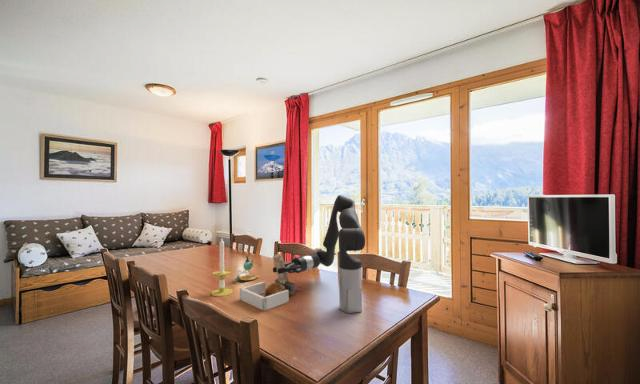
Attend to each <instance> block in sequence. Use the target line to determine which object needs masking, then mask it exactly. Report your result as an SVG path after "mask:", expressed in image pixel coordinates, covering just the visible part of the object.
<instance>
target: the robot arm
mask: <svg viewBox="0 0 640 384" xmlns="http://www.w3.org/2000/svg"><path fill="white" fill-rule="evenodd" d="M355 203H356V202H355V201H354V200H353V199H352V198H350V197H346V196H345V195H342V194H339V195H337V197H336V198H335V201H334V203H333V206H332V210H331V213H330V214H331V215H330V218H329V224H328V227H327V231H326V234H325V237H324V239H323V243H322V246H323V247H324V248H325V249H326V251H325V250H323V249H320V250H319V249H318V250H317V251H315V252H314V253H312V254H308V255H302V256H299V257H294V258H292V260H291V261H288V262H284V265H285V268H280V269H278V274H281V273H288V274H295V273H296V274H300V273H302V272H303V273H304V272H306V271H308V270H311V269H314V268H317V267H319V266H320V265H323V266H325V267H330V266H332V264H333V263H334V261H335V252H336V251H335V249H336V245H337V244H338V249H339V250H338V252H339V253H338V255H339V258H338V259H339V263H338V264H339V265H338V267H339V268H338V270H339V271H338V273H339V274H338V281H339V282H338V284H339V285H338V287H339V289H338V291H339V292H338V294H339V295H338V296H339V298H338V299H339V304H338V306H339V307H338V308H339V310H340V311H342V312H343V313H347V314H354V313H361V312H363V304H362V303H363V301H362V300H363V294H362V293H363V290H362V260H361V259H359V258H357V257H355V256H352V255H350V254H349V253H348V252H355V251H356V252H359V251H362V250H364V249H365V246H366V236H365V235H366V234H365V232H364V230H363V229H362V226H361V224H360V221H359V217H358V214H357V212H356V204H355ZM338 213H339V215H338ZM337 216H338V217H337ZM337 218H338V219H337ZM338 220H339V221H338ZM338 222H339V225H340V229H339V225H338ZM272 272H273V273H277V270H276V266H274V267H273V268H272ZM278 274H277V275H278Z"/></svg>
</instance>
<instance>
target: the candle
mask: <svg viewBox="0 0 640 384" xmlns="http://www.w3.org/2000/svg"><path fill="white" fill-rule="evenodd" d="M231 273H232V271H231V270H229V269H225V241H224V239H223V238H222V237H221V239H220V241H219V270H216V271H213V272H212V275H213V276H216V277H218V289H214V290H212V292H210V296H213V297H225V296H229V295H231V294H232V293H233V289H231V288H225V286H226V283H225V279H226V278H225V277H226V276H227V275H230V274H231Z"/></svg>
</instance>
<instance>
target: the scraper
mask: <svg viewBox="0 0 640 384" xmlns="http://www.w3.org/2000/svg"><path fill="white" fill-rule="evenodd" d="M272 259H273V263H274V267H276V270H277V272H276V274H277V278H276V279H274V283H280V284H282V285H284V286H285V288H286V290H289V293H290V294H294V293H295V292H297V289H296V283H295V282H292V281H289V277H288V274H287V273H288V272H287V273H281V274H278V269H280V268H285V265H284V263H285V261H284V258H283V255H282V254H280V253H276V254H275V255H272Z"/></svg>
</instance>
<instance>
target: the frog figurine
mask: <svg viewBox="0 0 640 384" xmlns="http://www.w3.org/2000/svg"><path fill="white" fill-rule="evenodd" d="M245 258H246V260H245V261H244V263H243V268H244V270H243V271H241V270H238V275H237V276H236V277H235V278H234V282H233V284H234V285H237V284H240V283H241V281H251V280H255V279H257V278H261V275H256V274H254V271H252V268H253V266H254V265H253V263H254V260H253V259H252V260H251V261H250V260H249V256H248V254H246V255H245ZM247 271H248V272H249V274H247V273H248V272H247ZM251 273H252V274H251ZM241 274H245V275H242V276H241ZM239 280H240V281H239Z"/></svg>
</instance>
